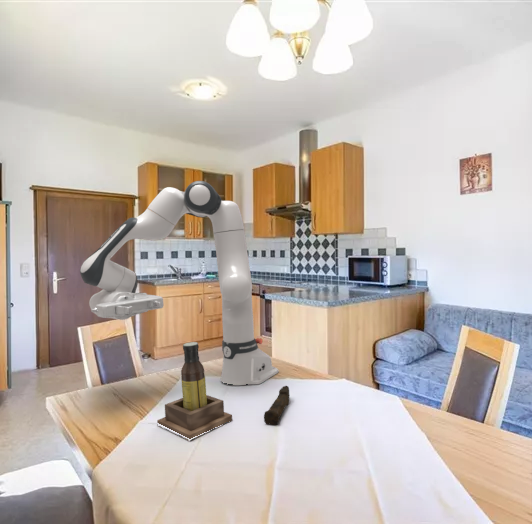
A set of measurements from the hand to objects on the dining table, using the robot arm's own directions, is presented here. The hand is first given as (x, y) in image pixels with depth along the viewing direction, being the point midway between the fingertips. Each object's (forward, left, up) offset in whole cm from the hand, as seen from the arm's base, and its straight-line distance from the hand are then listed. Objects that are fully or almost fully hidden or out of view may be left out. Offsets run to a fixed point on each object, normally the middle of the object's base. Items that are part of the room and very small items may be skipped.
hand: (144, 307), depth 110 cm
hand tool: (-21, +32, -31) cm, 49 cm away
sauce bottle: (-2, +19, -29) cm, 35 cm away
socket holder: (-2, +19, -30) cm, 36 cm away
